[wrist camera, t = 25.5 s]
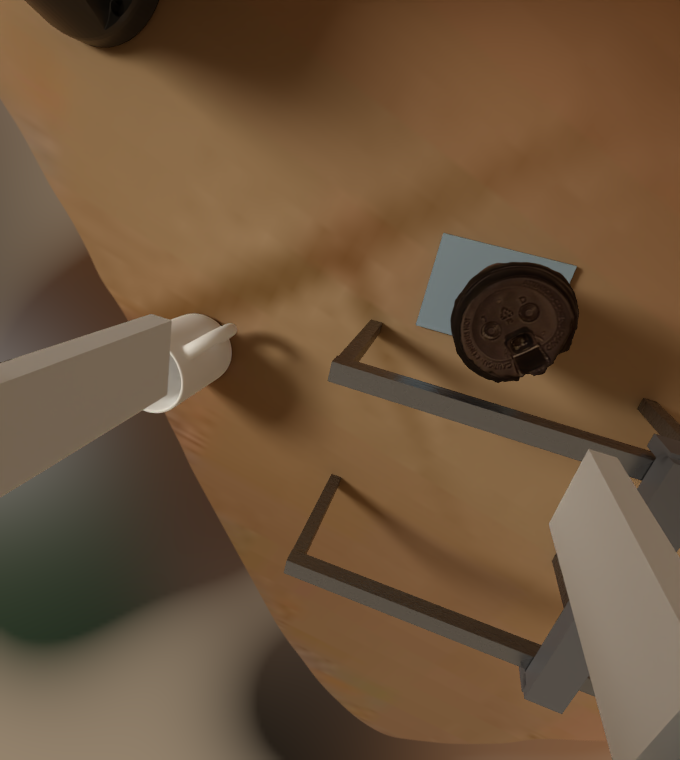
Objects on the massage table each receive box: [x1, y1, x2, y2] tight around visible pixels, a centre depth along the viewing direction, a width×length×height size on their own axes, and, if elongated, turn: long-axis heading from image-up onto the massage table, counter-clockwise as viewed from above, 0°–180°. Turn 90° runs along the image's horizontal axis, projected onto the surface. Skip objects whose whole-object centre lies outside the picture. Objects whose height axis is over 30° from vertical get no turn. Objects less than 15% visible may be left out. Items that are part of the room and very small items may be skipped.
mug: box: [144, 314, 237, 413], centre depth 47 cm, size 12×8×10 cm
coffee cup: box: [450, 262, 579, 383], centre depth 35 cm, size 9×8×13 cm
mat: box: [416, 233, 577, 335], centre depth 42 cm, size 12×9×1 cm
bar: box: [519, 434, 680, 714], centre depth 32 cm, size 3×24×5 cm, turn 167°
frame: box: [284, 320, 680, 696], centre depth 41 cm, size 28×22×15 cm
